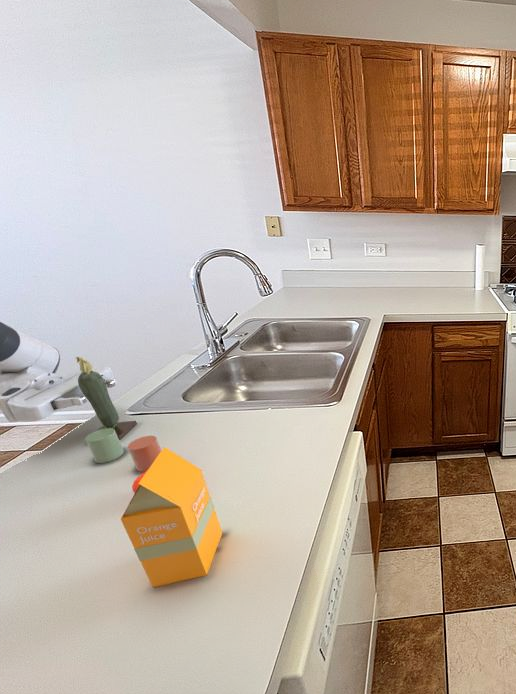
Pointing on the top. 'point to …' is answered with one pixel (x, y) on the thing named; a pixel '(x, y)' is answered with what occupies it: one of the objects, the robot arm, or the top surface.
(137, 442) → the rust red cylinder
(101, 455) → the mint green cylinder
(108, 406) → the vegetable
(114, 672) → the top surface
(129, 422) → the coaster
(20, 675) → the top surface
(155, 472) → the orange juice
